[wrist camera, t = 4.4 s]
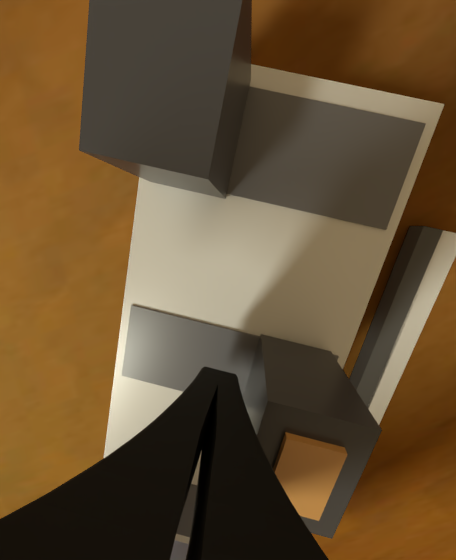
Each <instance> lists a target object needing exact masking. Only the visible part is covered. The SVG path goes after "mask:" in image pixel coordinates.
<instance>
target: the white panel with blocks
mask: <svg viewBox="0 0 456 560" xmlns="http://www.w3.org/2000/svg"><path fill="white" fill-rule="evenodd" d="M251 11H252V0H90V1H89V15H88V30H87V44H86V58H85V73H84V87H83V101H82V116H81V130H80V144H79V150H80V151H82V152H84V153H86V154H89V155H91V156H93V157H95V158H98V159H100V160H102V161H104V162H107V163H109V164H111V165H113V166H116V167H118V168H120V169H122V170H125V171H127V172H129V173H131V174H134V175H136V176H138V177H139V184H138V192H137V200H136V208H135V216H134V224H133V232H132V239H131V247H130V255H129V263H128V271H127V279H126V287H125V294H124V302H123V310H122V318H121V326H120V334H119V342H118V349H117V357H116V365H115V373H114V381H113V389H112V397H111V404H110V412H109V420H108V428H107V436H106V444H105V451H104V458H105V457H107V456H108V455H110V454H111V453H112V452H114V451H115V450H116V449H118V448H119V447H121V446H122V445H123V444H125V443H126V442H128V441H129V440H130V439H132V438H133V437H134V436H135V435H137V434H138V433H139V432H140V431H142V430H143V429H144V428H145V427H147V426H148V425H149V424H150V423H151V422H153V421H154V420H155V419H156V418H157V417H158V416H159V415H160V414H162V413H163V412H164V411H165V410H166V409H167V408H168V407H169V406H170V405H171V404H172V403H173V402H174V401H175V400H176V399H177V398H178V397H179V396H180V395H181V394H182V393H183V392H184V391H185V389H186V388H187V387H188V386H189V385H190V384H191V383H192V381H193V380H194V379H195V378H196V376H197V375H198V373H199V372H200V370H201V369H202V368H203V367H209V368H213V369H217V370H221V371H225V372H229V373H233V374H236V375H237V377H238V382H239V386H240V390H241V393H242V397H243V396H244V392H245V389H246V385H247V382H248V378H249V374H250V371H251V367H252V364H253V360H254V357H255V353H256V349H257V346H258V342H259V339H260V335H261V334H263V335H267V336H271V337H275V338H279V339H283V340H287V341H291V342H295V343H299V344H303V345H308V346H312V347H316V348H320V349H324V350H328V351H331V352H332V354H333V355H334V357H335V358H336V360H337V362H338V363H339V365H340V366H341V368H342V369H343V368H344V365H345V362H346V360H347V357H348V354H349V352H350V349H351V347H352V344H353V341H354V339H355V336H356V334H357V331H358V328H359V326H360V323H361V321H362V318H363V315H364V313H365V310H366V308H367V305H368V302H369V300H370V297H371V295H372V292H373V289H374V287H375V284H376V282H377V279H378V276H379V274H380V271H381V268H382V266H383V263H384V261H385V258H386V255H387V253H388V250H389V248H390V245H391V242H392V240H393V237H394V235H395V232H396V229H397V227H398V224H399V222H400V219H401V216H402V214H403V211H404V209H405V206H406V203H407V201H408V198H409V196H410V193H411V190H412V188H413V185H414V182H415V180H416V177H417V175H418V172H419V169H420V167H421V164H422V162H423V159H424V156H425V154H426V151H427V149H428V146H429V143H430V141H431V138H432V136H433V133H434V130H435V128H436V125H437V123H438V120H439V117H440V115H441V112H442V109H443V107H444V104H441V103H437V102H432V101H427V100H422V99H417V98H412V97H408V96H403V95H398V94H393V93H388V92H383V91H379V90H374V89H369V88H364V87H359V86H354V85H350V84H345V83H340V82H335V81H330V80H325V79H321V78H316V77H311V76H306V75H301V74H297V73H292V72H287V71H282V70H277V69H272V68H268V67H263V66H258V65H253V64H251ZM201 452H202V450H201ZM200 460H201V454H200V457H199V460H198V463H197V467H196V470H195V473H194V476H193V480H192V483H191V486H190V489H189V493H188V496H187V499H186V502H185V506H184V509H183V512H182V515H181V519H180V522H179V526H178V529H177V533H176V537H175V540H176V541H179V542H183V543H186V544H189V540H190V534H191V527H192V521H193V514H194V506H195V498H196V490H197V483H198V475H199V467H200Z"/></svg>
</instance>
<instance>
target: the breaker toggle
mask: <svg viewBox="0 0 456 560" xmlns="http://www.w3.org/2000/svg"><path fill="white" fill-rule="evenodd" d="M243 400H244V403H245V406H246V409H247V412H248V414H249V417H250V420H251V422H252V425H253V427H254V430H255V432H256V435H257V437H258V439H259V441H260V444H261V446H262V448H263V450H264V452H265V455H266V457H267V459H268V461H269V463H270V465H271V466H272V468H273V470H274V472H275V474H276V476H277V478H278V480H279V482H280V483H281V485H282V487H283V489H284V490H285V492H286V494H287V496H288V497H289V499H290V501H291V503H292V504H293V506H294V507H295V509H296V511H297V512H298V514H299V515H300V517H301V518H302V520H303V521H304V523H305V525H306V526H307V528H308V529H309V531H310V532H311V533H314V534H317V535H321V536H325V537H328V538H333V535H334V533H335V531H336V529H337V527H338V525H339V522H340V520H341V518H342V516H343V514H344V511H345V509H346V507H347V505H348V503H349V501H350V498H351V496H352V494H353V492H354V490H355V488H356V485H357V483H358V481H359V479H360V477H361V474H362V472H363V470H364V468H365V466H366V464H367V461H368V459H369V457H370V455H371V453H372V450H373V448H374V446H375V444H376V442H377V440H378V437H379V435H380V433H381V431H382V430H381V428H380V426H379V425H378V423H377V422H376V420H375V419H374V417H373V416H372V414H371V413H370V411H369V409H368V408H367V406H366V405H365V403H364V402H363V400H362V399H361V397H360V396H359V394H358V392H357V391H356V389H355V388H354V386H353V385H352V383H351V382H350V380H349V379H348V377H347V375H346V374H345V372H344V371H343V369H342V368H341V366H340V365H339V363H338V362H337V360H336V358H335V357H334V355H333V354H332V352H331V351H328V350H324V349H320V348H316V347H312V346H308V345H303V344H299V343H295V342H291V341H287V340H283V339H279V338H275V337H271V336H267V335H263V334H261V335H260V339H259V342H258V346H257V349H256V353H255V357H254V360H253V364H252V367H251V371H250V374H249V378H248V382H247V385H246V389H245V392H244V396H243Z"/></svg>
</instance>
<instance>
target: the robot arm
mask: <svg viewBox="0 0 456 560" xmlns="http://www.w3.org/2000/svg"><path fill="white" fill-rule="evenodd" d="M201 450H202V452H201ZM200 454H201V460H200V467H199V475H198V483H197V490H196V498H195V506H194V514H193V521H192V527H191V534H190V540H189V544H186V543H183V542H179V541H176V540H175V537H176V533H177V529H178V526H179V522H180V519H181V515H182V512H183V509H184V506H185V502H186V499H187V496H188V493H189V489H190V486H191V483H192V480H193V476H194V473H195V470H196V467H197V463H198V460H199V457H200ZM0 560H329V559H328V558H327V557H326V555H325V554H324V552H323V551H322V550H321V548H320V547H319V545H318V543H317V542H316V540H315V539H314V537H313V536H312V534H311V532H310V531H309V529H308V528H307V526H306V525H305V523H304V521H303V520H302V518H301V517H300V515H299V514H298V512H297V511H296V509H295V507H294V506H293V504H292V503H291V501H290V499H289V497H288V496H287V494H286V492H285V490H284V489H283V487H282V485H281V483H280V482H279V480H278V478H277V476H276V474H275V472H274V470H273V468H272V466H271V465H270V463H269V461H268V459H267V457H266V455H265V452H264V450H263V448H262V446H261V444H260V441H259V439H258V437H257V435H256V432H255V430H254V427H253V425H252V422H251V420H250V417H249V414H248V412H247V409H246V406H245V403H244V400H243V397H242V393H241V390H240V386H239V382H238V377H237V375H236V374H233V373H229V372H225V371H221V370H217V369H213V368H209V367H203V368H202V369H201V370H200V372H199V373H198V375H197V376H196V378H195V379H194V380H193V381H192V383H191V384H190V385H189V386H188V387H187V388H186V389H185V391H184V392H183V393H182V394H181V395H180V396H179V397H178V398H177V399H176V400H175V401H174V402H173V403H172V404H171V405H170V406H169V407H168V408H167V409H166V410H165V411H164V412H163V413H162V414H160V415H159V416H158V417H157V418H156V419H155V420H154V421H153V422H151V423H150V424H149V425H148V426H147V427H145V428H144V429H143V430H142V431H140V432H139V433H138V434H137V435H135V436H134V437H133V438H132V439H130V440H129V441H128V442H126V443H125V444H123V445H122V446H121V447H119V448H118V449H116V450H115V451H114V452H112V453H111V454H110V455H108V456H107V457H105V458H104V459H102V460H101V461H99V462H98V463H96V464H95V465H93V466H92V467H90V468H88V469H87V470H85V471H83V472H82V473H80V474H79V475H77V476H75V477H74V478H72V479H70V480H69V481H67V482H65V483H64V484H62V485H61V486H59V487H57V488H56V489H54V490H52V491H51V492H49V493H47V494H46V495H44V496H42V497H40V498H39V499H37V500H35V501H33V502H31V503H29V504H27V505H26V506H24V507H22V508H20V509H18V510H16V511H14V512H12V513H11V514H9V515H7V516H5V517H3V518H1V519H0Z"/></svg>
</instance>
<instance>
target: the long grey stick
mask: <svg viewBox="0 0 456 560" xmlns="http://www.w3.org/2000/svg"><path fill="white" fill-rule="evenodd" d="M455 256H456V233H453V232H448V231H444V230H440V229H435V228H431V227H426V226H410V227H409V230H408V232H407V235H406V237H405V240H404V242H403V245H402V247H401V250H400V252H399V255H398V257H397V260H396V262H395V265H394V267H393V270H392V273H391V275H390V278H389V280H388V283H387V285H386V288H385V290H384V293H383V295H382V298H381V300H380V303H379V305H378V308H377V310H376V313H375V316H374V318H373V321H372V323H371V326H370V328H369V331H368V333H367V336H366V338H365V341H364V343H363V346H362V348H361V351H360V353H359V356H358V359H357V361H356V364H355V366H354V369H353V371H352V374H351V376H350V379H349V380H350V382H351V383H352V385H353V386H354V388H355V389H356V391H357V392H358V394H359V396H360V397H361V399H362V400H363V402H364V403H365V405H366V406H367V408H368V409H369V411H370V413H371V414H372V416H373V417H374V419H375V420H376V422H377V423H378V425H379V424H380V422H381V420H382V417H383V415H384V413H385V411H386V409H387V406H388V404H389V402H390V400H391V397H392V395H393V393H394V391H395V389H396V386H397V384H398V382H399V380H400V378H401V375H402V373H403V371H404V369H405V367H406V364H407V362H408V360H409V358H410V356H411V353H412V351H413V349H414V347H415V344H416V342H417V340H418V338H419V336H420V333H421V331H422V329H423V327H424V325H425V322H426V320H427V318H428V316H429V314H430V311H431V309H432V307H433V305H434V303H435V300H436V298H437V296H438V294H439V291H440V289H441V287H442V285H443V283H444V280H445V278H446V276H447V274H448V272H449V269H450V267H451V265H452V263H453V261H454V258H455Z"/></svg>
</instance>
